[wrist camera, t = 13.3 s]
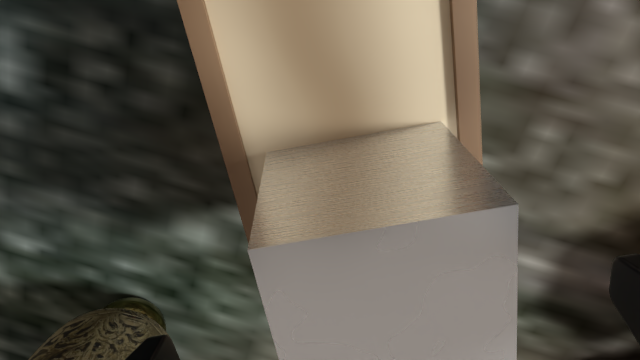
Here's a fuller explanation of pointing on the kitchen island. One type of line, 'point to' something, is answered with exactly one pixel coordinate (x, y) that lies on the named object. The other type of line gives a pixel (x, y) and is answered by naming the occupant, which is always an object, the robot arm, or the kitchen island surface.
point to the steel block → (386, 250)
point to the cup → (105, 332)
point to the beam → (330, 74)
